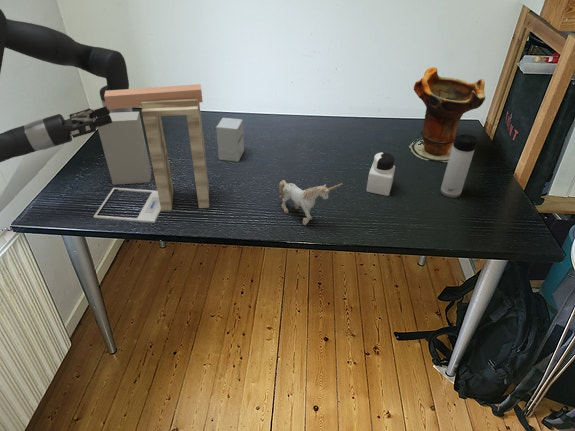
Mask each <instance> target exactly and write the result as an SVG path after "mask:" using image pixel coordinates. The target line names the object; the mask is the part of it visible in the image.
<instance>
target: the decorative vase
mask: <svg viewBox="0 0 575 431" xmlns="http://www.w3.org/2000/svg"><path fill="white" fill-rule="evenodd" d="M485 84H486V83H485V80H484V79H482V78H480V79H478V80H477V81H475V82H468V81H466V80H464V79H459V78H455V77H454V78H453V77H445V76H440V75H439V74H438V68H437V67H429V68H427V69H426V70H425V71H424V75H423V77H422V78H420V79H419V80H417V81H416V82H414V85H413V92H414V93H415V94H416V95H417V97H418V98H419V99H421V101H422V102H423V103H424V106H425V107H426V108H425V109H426V110H425V115H424V119H423V120H424V121H423V125H422V126H423V127H422V130H421V131H420V133H419V135H421V136H422V138H423V139H422V140H419V141H416V142H414V141H413V142H414V143H413V142H412V143H410V145H408V147H409V148H410V151H411V152H412V153H413V155H415V156H416V157H417V158H420V159H421V160H425V161H429V160H432V161H436V162H443V163H448V161H449V157H450V154H451V150H452V147H453V144H454V140H455V137H456V134H457V128H458V126H459V123H460V122H461V121H460V120H461V119H462V117H463V115H464V114H466V113H467V112H470V111H473V110H476V109H478V108H480V107H482V105H483V103H484V102H485V100H486V95H485ZM419 135H418V136H417V138H416V139H415V140H418V138H419ZM420 141H423V142H424V145H423V144H421V145H418V144H420V143H421V142H420Z"/></svg>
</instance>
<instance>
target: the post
mask: <svg viewBox="0 0 575 431" xmlns="http://www.w3.org/2000/svg"><path fill="white" fill-rule="evenodd" d="M109 115H110V117H111V119H112V123H110V124H107V125H104V126H100V127H99V126H98V127H99V128H98V129H97V130H98V135H99V138H100V142H101V146H102V149H103V152H104V157H105V162H106V164H107V168H108V172H109V175H110V179H111V183H112V185H124V184H126V185H127V184H143V183H151V177H152V169H151V164H150V159H149V154H148V149H147V144H146V139H145V134H144V129H143V124H142V119H141V113H140V111H133V112H117V113H110V114H109Z"/></svg>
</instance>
